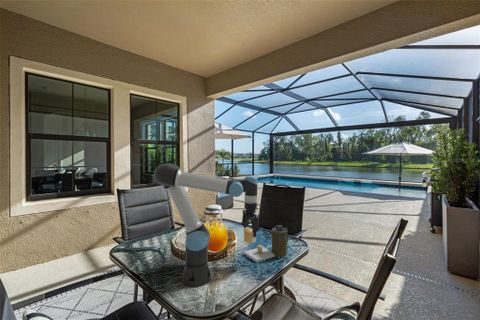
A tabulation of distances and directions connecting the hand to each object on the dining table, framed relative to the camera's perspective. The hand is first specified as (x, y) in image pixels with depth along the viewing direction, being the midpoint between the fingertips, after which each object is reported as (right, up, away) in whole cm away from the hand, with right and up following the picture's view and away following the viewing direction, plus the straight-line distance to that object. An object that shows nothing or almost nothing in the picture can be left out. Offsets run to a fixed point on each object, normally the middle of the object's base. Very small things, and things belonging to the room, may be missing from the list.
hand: (249, 240), depth 133 cm
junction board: (+7, -15, +13) cm, 21 cm away
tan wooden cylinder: (0, 0, 0) cm, 0 cm away
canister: (+21, -16, +15) cm, 30 cm away
